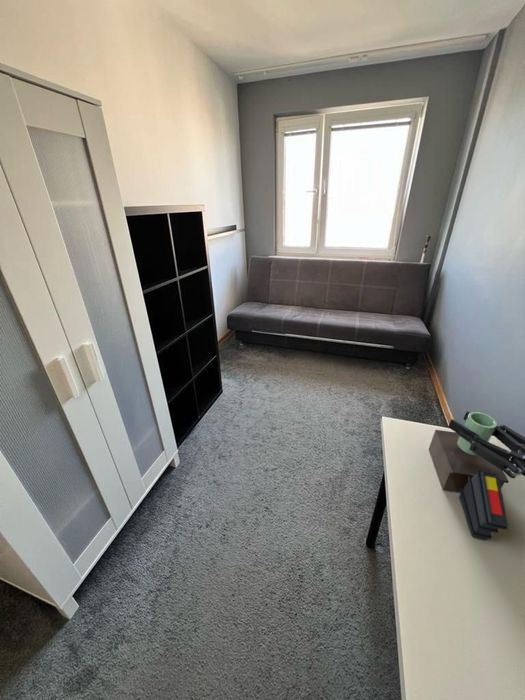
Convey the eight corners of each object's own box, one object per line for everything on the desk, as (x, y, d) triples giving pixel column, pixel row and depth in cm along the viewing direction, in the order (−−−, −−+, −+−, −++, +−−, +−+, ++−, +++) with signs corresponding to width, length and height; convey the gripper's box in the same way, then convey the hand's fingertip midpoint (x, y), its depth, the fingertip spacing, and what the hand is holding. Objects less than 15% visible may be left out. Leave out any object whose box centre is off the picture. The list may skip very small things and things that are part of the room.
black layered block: (470, 485, 76) (499, 472, 64) (479, 541, 69) (512, 538, 57) (455, 482, 77) (480, 468, 65) (461, 537, 70) (491, 533, 58)
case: (494, 499, 74) (506, 480, 71) (442, 490, 77) (450, 471, 74) (472, 456, 87) (481, 437, 83) (428, 449, 90) (434, 431, 86)
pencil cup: (477, 440, 79) (490, 413, 74) (487, 457, 74) (501, 429, 69) (454, 437, 80) (465, 410, 75) (461, 453, 75) (474, 425, 70)
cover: (507, 483, 70) (509, 481, 70) (451, 474, 73) (452, 472, 72) (481, 437, 83) (482, 435, 83) (434, 431, 86) (435, 429, 85)
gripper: (534, 515, 58) (431, 440, 76) (577, 478, 65) (474, 418, 84) (550, 493, 54) (439, 420, 73) (594, 456, 62) (482, 398, 80)
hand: (458, 419), depth 78 cm, fingers closed on pencil cup, 6 cm apart
